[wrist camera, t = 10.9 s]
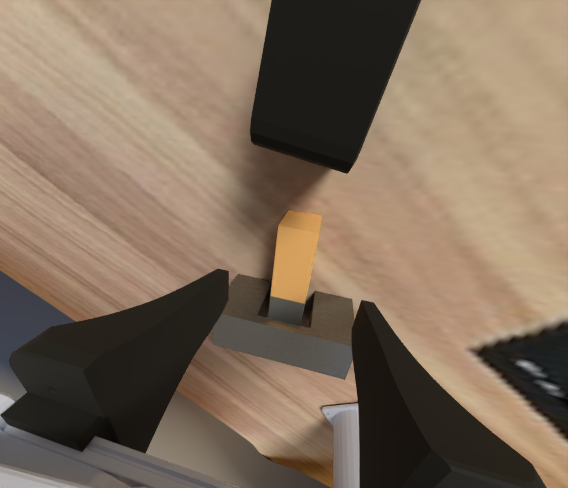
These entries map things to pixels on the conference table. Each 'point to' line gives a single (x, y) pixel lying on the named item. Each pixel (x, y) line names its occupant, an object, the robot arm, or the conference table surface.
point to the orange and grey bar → (293, 265)
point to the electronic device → (326, 75)
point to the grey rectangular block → (287, 329)
